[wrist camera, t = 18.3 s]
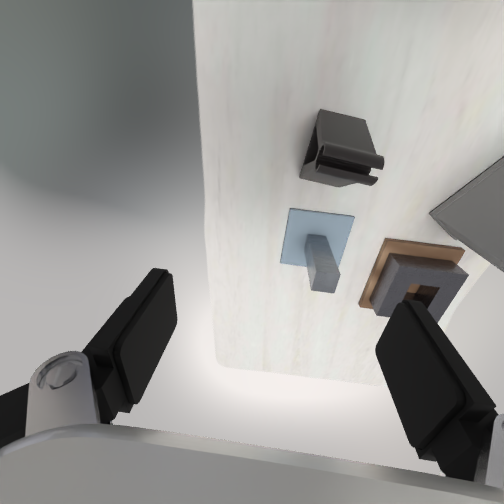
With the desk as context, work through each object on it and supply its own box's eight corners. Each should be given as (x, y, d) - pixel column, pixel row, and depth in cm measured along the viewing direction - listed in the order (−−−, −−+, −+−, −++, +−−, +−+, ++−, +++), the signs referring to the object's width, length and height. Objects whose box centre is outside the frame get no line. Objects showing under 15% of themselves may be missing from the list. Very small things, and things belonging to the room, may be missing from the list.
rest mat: (290, 208, 39) (290, 209, 38) (353, 216, 39) (354, 217, 38) (280, 261, 44) (280, 263, 44) (336, 268, 44) (337, 270, 43)
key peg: (307, 233, 40) (316, 271, 31) (326, 235, 40) (340, 274, 31) (304, 249, 42) (311, 290, 32) (321, 251, 42) (334, 293, 32)
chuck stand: (385, 238, 40) (387, 240, 39) (461, 247, 39) (465, 250, 39) (358, 303, 47) (360, 307, 46) (422, 312, 46) (425, 316, 46)
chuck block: (389, 252, 40) (399, 265, 37) (452, 260, 40) (468, 274, 36) (368, 299, 45) (376, 315, 42) (424, 307, 45) (436, 323, 41)
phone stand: (337, 186, 37) (360, 216, 26) (299, 177, 37) (306, 203, 26) (364, 119, 32) (404, 123, 22) (320, 108, 32) (339, 107, 22)
